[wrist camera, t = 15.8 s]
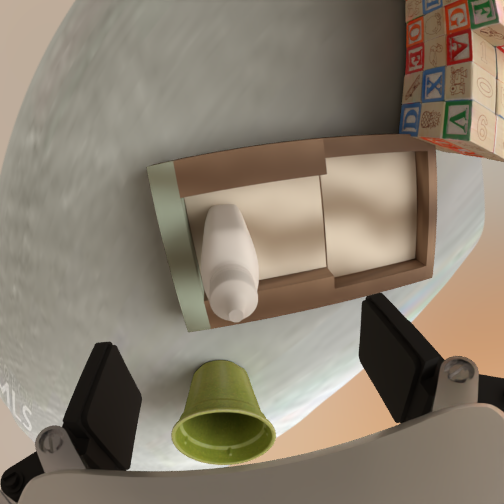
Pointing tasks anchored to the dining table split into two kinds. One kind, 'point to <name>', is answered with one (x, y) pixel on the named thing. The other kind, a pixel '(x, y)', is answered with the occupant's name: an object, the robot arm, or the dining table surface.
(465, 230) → the dining table surface
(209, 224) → the eye dropper bottle
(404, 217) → the divided wooden tray
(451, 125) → the stack of blocks
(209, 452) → the plant pot
